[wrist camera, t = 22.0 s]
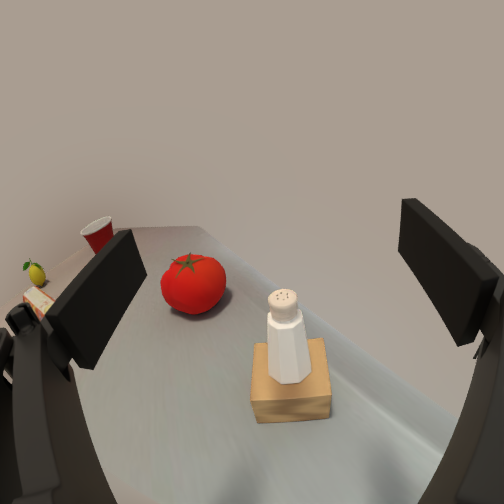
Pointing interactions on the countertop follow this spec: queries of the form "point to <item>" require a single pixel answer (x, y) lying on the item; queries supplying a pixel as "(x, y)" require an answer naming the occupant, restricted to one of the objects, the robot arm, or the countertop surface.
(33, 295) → the snack package
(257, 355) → the wood block
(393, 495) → the countertop surface
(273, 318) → the salt shaker
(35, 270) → the lemon
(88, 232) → the plastic cup
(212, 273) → the tomato
